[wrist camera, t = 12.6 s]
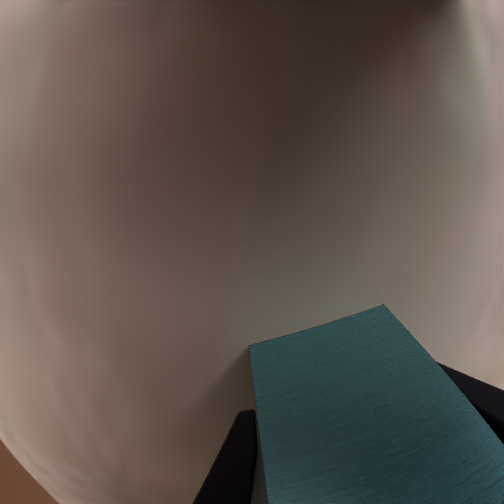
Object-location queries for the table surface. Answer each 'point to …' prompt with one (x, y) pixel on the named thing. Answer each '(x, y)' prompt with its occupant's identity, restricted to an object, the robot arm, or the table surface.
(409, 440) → the blade tool
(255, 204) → the table surface
